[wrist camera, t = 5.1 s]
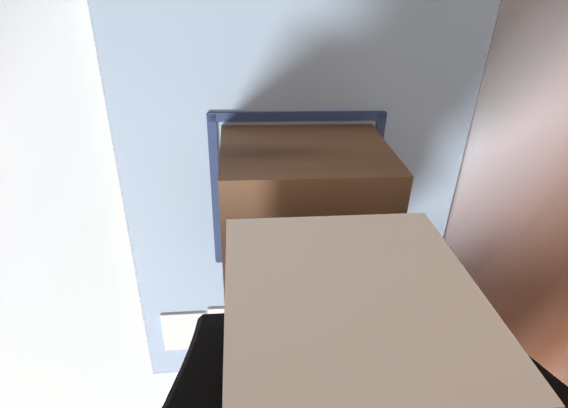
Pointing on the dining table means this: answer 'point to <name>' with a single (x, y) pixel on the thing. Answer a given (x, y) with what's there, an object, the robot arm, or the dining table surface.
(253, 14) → the board
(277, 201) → the walnut base block
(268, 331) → the ivory block
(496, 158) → the dining table surface
